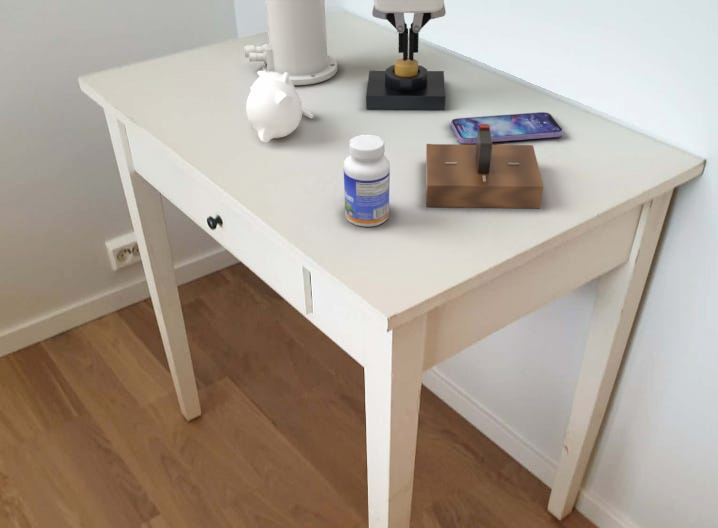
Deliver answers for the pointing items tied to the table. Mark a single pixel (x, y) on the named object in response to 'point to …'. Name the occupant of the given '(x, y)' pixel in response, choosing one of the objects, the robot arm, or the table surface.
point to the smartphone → (508, 127)
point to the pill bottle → (366, 181)
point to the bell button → (406, 67)
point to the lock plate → (482, 177)
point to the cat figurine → (274, 106)
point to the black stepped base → (405, 90)
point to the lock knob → (483, 148)
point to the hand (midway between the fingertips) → (408, 57)
